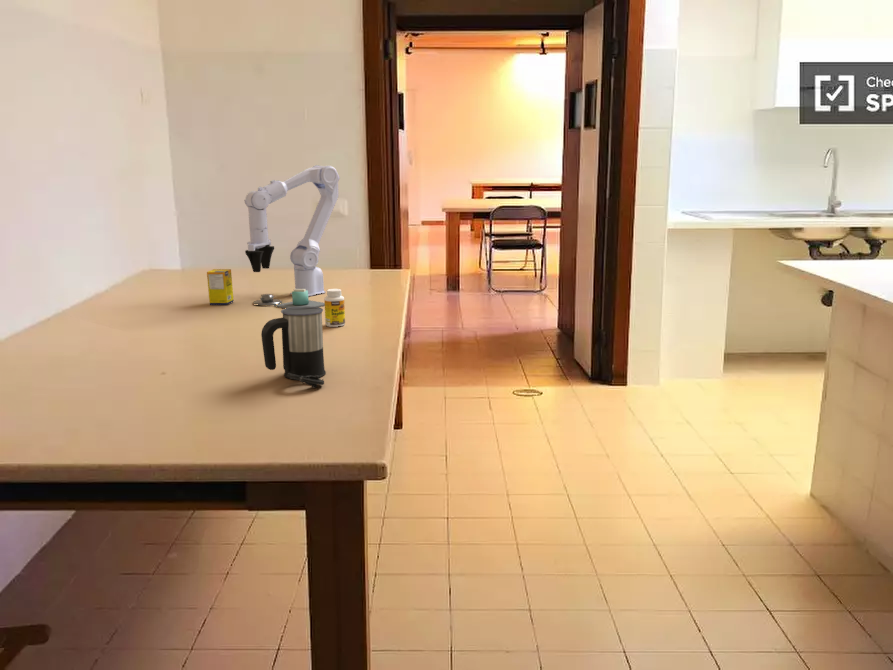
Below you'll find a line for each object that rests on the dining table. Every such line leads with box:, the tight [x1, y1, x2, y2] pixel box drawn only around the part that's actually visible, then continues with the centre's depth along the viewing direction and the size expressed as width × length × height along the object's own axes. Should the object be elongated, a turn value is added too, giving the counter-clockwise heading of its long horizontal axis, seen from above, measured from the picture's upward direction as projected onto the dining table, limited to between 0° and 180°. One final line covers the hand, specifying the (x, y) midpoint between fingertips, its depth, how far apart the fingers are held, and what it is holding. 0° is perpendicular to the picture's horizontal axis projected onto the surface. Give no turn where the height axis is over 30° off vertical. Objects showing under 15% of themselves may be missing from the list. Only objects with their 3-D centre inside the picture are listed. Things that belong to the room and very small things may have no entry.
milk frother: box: [260, 306, 327, 389], centre depth 172 cm, size 14×16×15 cm
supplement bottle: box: [323, 288, 346, 328], centre depth 224 cm, size 6×6×10 cm
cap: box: [291, 288, 310, 305], centre depth 252 cm, size 5×5×5 cm
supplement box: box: [206, 268, 235, 306], centre depth 257 cm, size 6×6×11 cm
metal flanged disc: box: [252, 293, 283, 305], centre depth 257 cm, size 9×9×3 cm
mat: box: [273, 299, 325, 309], centre depth 253 cm, size 12×12×1 cm
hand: (261, 270), depth 261 cm, fingers open, 7 cm apart
